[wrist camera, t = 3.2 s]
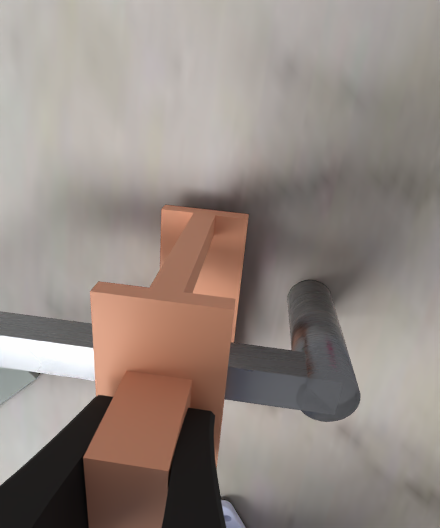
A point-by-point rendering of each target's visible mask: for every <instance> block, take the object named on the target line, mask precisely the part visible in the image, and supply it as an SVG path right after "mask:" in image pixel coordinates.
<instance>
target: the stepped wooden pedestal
mask: <svg viewBox="0 0 440 528" xmlns="http://www.w3.org/2000/svg"><path fill="white" fill-rule="evenodd" d="M248 217H249V214H243V213H234V212H225V211H217V210H208V209H199V208H190V207H181V206H172V205H165V206H164V207H163V208H162V209H161V248H160V271H159V272H158V274H157V276H156V277H155V279H154V281H153V282H152V284H151V286H150V288H147V287H139V286H131V285H123V284H115V283H108V282H100V281H99V282H98V283H97V284H96V285H95V286H94V287H93V289H92V290H91V291H90V299H91V316H92V333H93V351H94V368H95V385H96V396H98V395H105V396H112V397H113V399H112V401H111V403H110V405H109V407H108V409H107V411H106V413H105V415H104V417H103V419H102V421H101V423H100V425H99V427H98V429H97V431H96V433H95V435H94V437H93V439H92V441H91V443H90V445H89V447H88V449H87V451H86V453H85V455H84V457H83V463H84V475H85V487H86V499H87V511H88V524H89V528H162V523H163V518H164V512H165V506H166V500H167V494H168V488H169V481H170V475H171V469H172V463H173V457H174V451H175V448H176V444H177V441H178V437H179V434H180V431H181V428H182V424H183V421H184V418H185V415H186V412H187V409H188V408H194V409H201V410H208V411H212V412H213V414H214V415H215V423H214V450H215V462H216V469H217V460H218V451H219V442H220V433H221V424H222V415H223V407H224V398H225V389H226V380H227V371H228V362H229V353H230V344H231V342H232V343H234V337H235V329H236V320H237V312H238V303H239V295H240V286H241V277H242V269H243V260H244V252H245V243H246V234H247V226H248Z"/></svg>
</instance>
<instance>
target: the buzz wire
mask: <svg viewBox="0 0 440 528" xmlns="http://www.w3.org/2000/svg"><path fill="white" fill-rule="evenodd" d="M287 300H288V313H289V324H290V336H291V348H292V350H285V349H277V348H270V347H262V346H255V345H247V344H240V343H232V342H231V344H230V353H229V362H228V371H227V380H226V389H225V398H224V399H226V400H233V401H240V402H247V403H254V404H261V405H268V406H275V407H282V408H289V409H296V410H301V411H302V412H303V413H304V414H305V415H307V416H308V417H310V418H312V419H315V420H319V421H325V422H330V421H338V420H341V419H344V418H346V417H348V416H349V415H351V414H352V413H353V412H354V411H355V410H356V409H357V407H358V405H359V403H360V391H359V388H358V384H357V381H356V377H355V374H354V371H353V367H352V364H351V361H350V357H349V354H348V350H347V347H346V344H345V340H344V337H343V334H342V330H341V327H340V323H339V320H338V317H337V313H336V310H335V306H334V303H333V300H332V296H331V293H330V291H329V289H328V288H327V287H326V286H325V285H324V284H322V283H320V282H318V281H314V280H307V281H302V282H300V283H298V284H296V285H295V286H294V287H293V288H292V289H291V290H290V292H289V294H288V299H287ZM0 367H3V368H10V369H17V370H24V371H31V372H38V373H45V374H52V375H59V376H66V377H73V378H80V379H87V380H94V381H95V368H94V351H93V333H92V324H90V323H83V322H75V321H68V320H60V319H53V318H45V317H38V316H30V315H23V314H15V313H8V312H0Z"/></svg>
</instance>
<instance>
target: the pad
mask: <svg viewBox="0 0 440 528" xmlns="http://www.w3.org/2000/svg"><path fill="white" fill-rule="evenodd" d="M38 376H39V374H38V373H37V372H31V371H24V370H17V369H10V368H3V367H0V405H1V404H2V403H3V402H5V401H6V400H7V399H9V398H10V397H12V396H13V395H14V394H16V393H17V392H19V391H20V390H21V389H23V388H24V387H25V386H27V385H28V384H30V383H31V382H32V381H34V380H35V379H36V378H37V377H38Z"/></svg>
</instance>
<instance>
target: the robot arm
mask: <svg viewBox="0 0 440 528" xmlns="http://www.w3.org/2000/svg"><path fill="white" fill-rule="evenodd" d="M112 399H113V397H112V396H105V395H98V396H96V397H95V398H94V399H93V400H92V401H91V402H90V403H89V404H88V405H87V406H86V407H85V408H84V409H83V410H82V411H81V412H80V413H79V414H78V415H77V416H76V417H75V418H74V419H73V420H72V421H71V422H70V423H69V424H68V425H67V426H66V427H65V428H64V429H62V430H61V431H60V432H59V433H58V434H57V435H56V436H55V437H54V438H53V439H52V440H51V441H50V442H49V443H48V444H47V445H46V446H44V447H43V448H42V449H41V450H40V451H39V452H38V453H37V454H36V455H35V456H34V457H33V458H31V459H30V460H29V461H28V462H27V463H26V464H25V465H24V466H23V467H21V468H20V469H19V470H18V471H17V472H16V473H15V474H13V475H12V476H11V477H10V478H9V479H7V480H6V481H5V482H4V483H3V484H2V485H0V528H89V524H88V511H87V499H86V487H85V475H84V463H83V457H84V455H85V453H86V451H87V449H88V447H89V445H90V443H91V441H92V439H93V437H94V435H95V433H96V431H97V429H98V427H99V425H100V423H101V421H102V419H103V417H104V415H105V413H106V411H107V409H108V407H109V405H110V403H111V401H112ZM214 423H215V415H214V414H213V412H212V411H208V410H201V409H194V408H188V409H187V412H186V415H185V418H184V421H183V424H182V428H181V431H180V434H179V437H178V441H177V444H176V448H175V451H174V457H173V463H172V469H171V475H170V481H169V488H168V494H167V500H166V506H165V512H164V518H163V523H162V528H245V526H244V524H243V522H242V521H241V519H240V517H239V516H238V514H237V512H236V511H235V509H234V507H233V506H232V504H231V503H230V502H228V501H226V500H221V496H220V490H219V484H218V478H217V470H216V462H215V450H214Z"/></svg>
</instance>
